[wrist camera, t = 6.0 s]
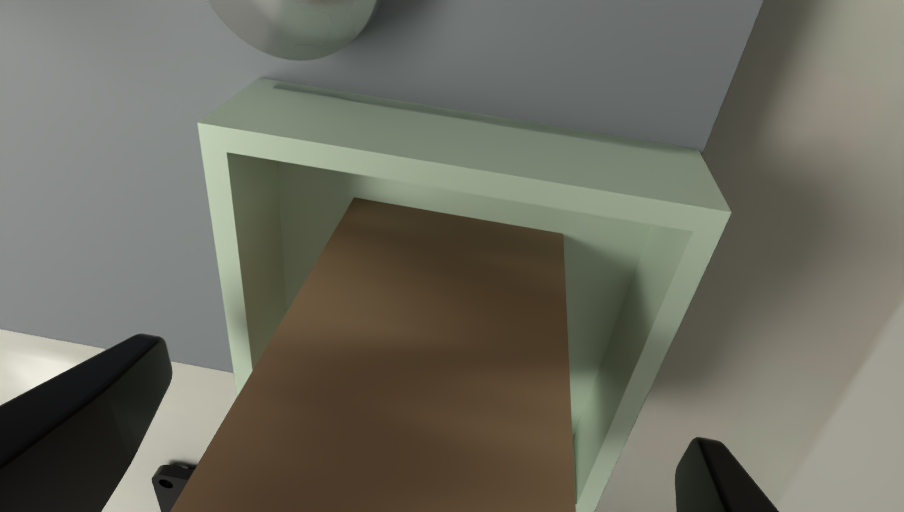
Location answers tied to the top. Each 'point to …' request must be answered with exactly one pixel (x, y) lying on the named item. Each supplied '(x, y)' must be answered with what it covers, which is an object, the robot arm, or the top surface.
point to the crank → (296, 24)
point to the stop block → (407, 378)
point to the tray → (476, 196)
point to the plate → (239, 64)
